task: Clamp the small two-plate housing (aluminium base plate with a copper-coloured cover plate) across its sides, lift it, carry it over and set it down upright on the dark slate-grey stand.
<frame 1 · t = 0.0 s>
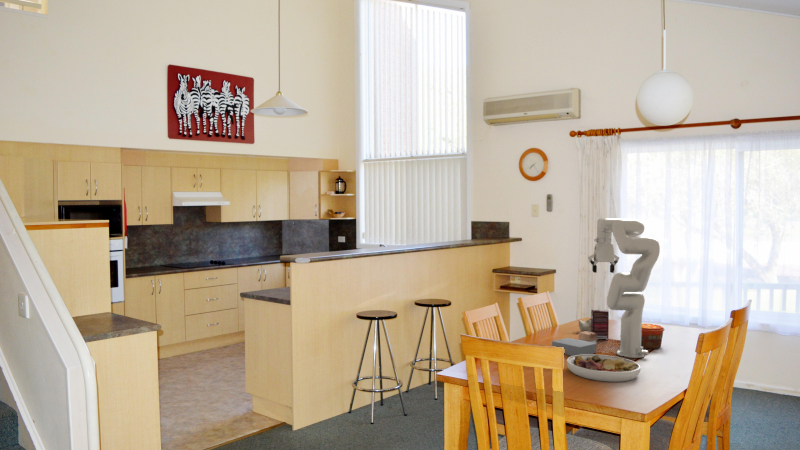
hand: (603, 272, 316), 37 cm above the table, fingers open, 9 cm apart
housing: (587, 346, 303), on the table
supplement box: (599, 339, 321), on the table
ceramic sculpture: (591, 333, 337), on the table
food container: (647, 346, 305), on the table
stand: (573, 352, 288), on the table
bowl: (602, 374, 251), on the table
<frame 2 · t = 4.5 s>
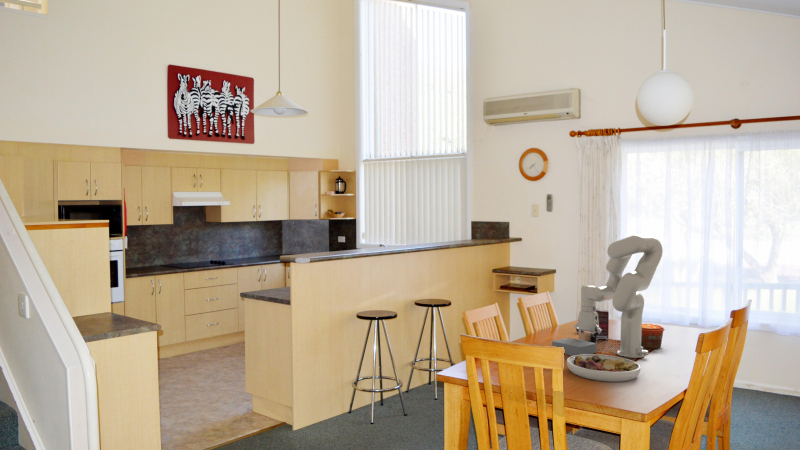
hand: (587, 342, 303), 2 cm above the table, fingers closed on housing, 6 cm apart
housing: (587, 346, 303), on the table, touching gripper
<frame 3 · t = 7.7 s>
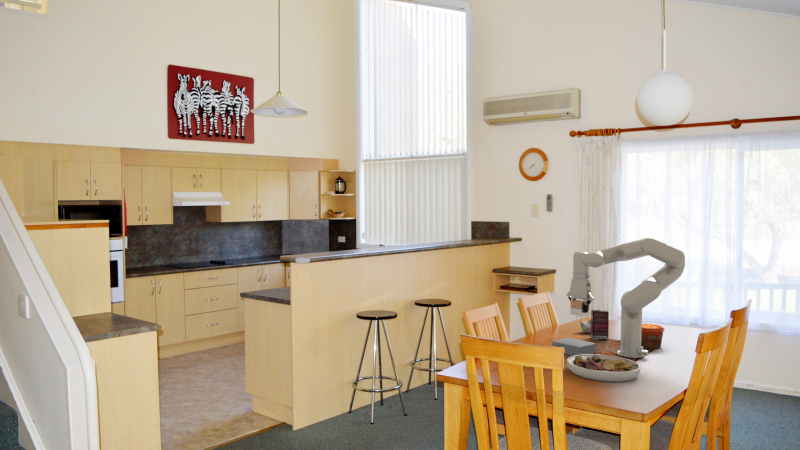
hand: (579, 311, 294), 20 cm above the table, fingers closed on housing, 6 cm apart
housing: (579, 314, 294), point 18 cm above the table, touching gripper
when the fingers open (8 cm above the table, at t = 11.4 s): housing drops 1 cm, resting on stand.
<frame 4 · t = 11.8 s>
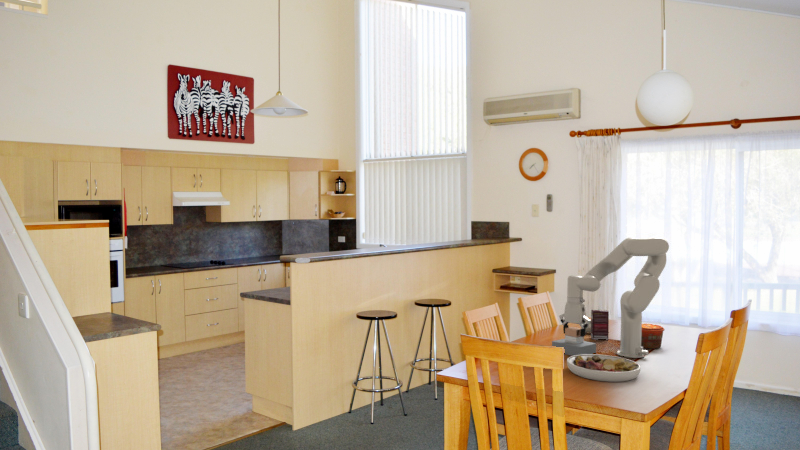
hand: (574, 334, 288), 9 cm above the table, fingers open, 9 cm apart
housing: (574, 342, 288), point 5 cm above the table, touching stand
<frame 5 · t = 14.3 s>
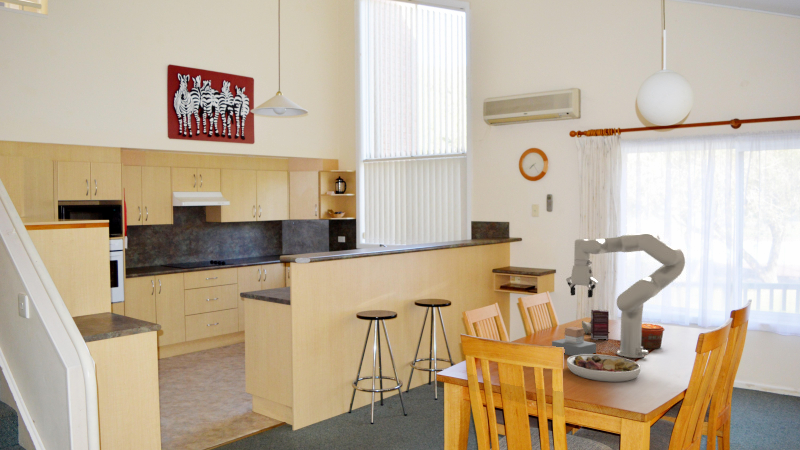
hand: (581, 296, 299), 27 cm above the table, fingers open, 9 cm apart
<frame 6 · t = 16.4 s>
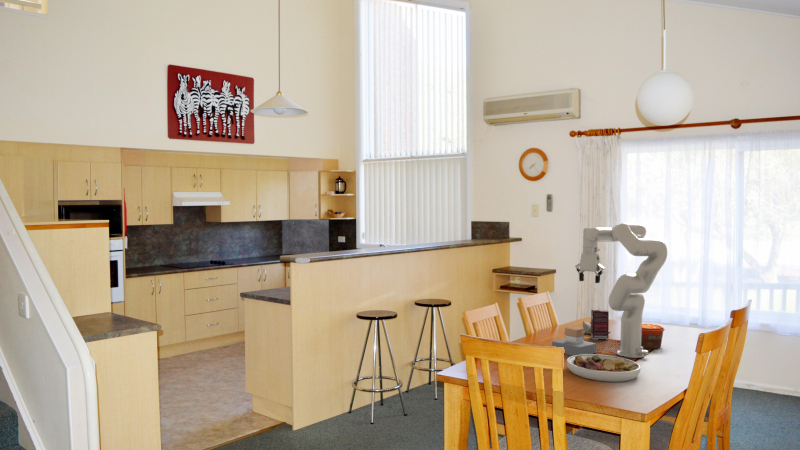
hand: (589, 282, 313), 32 cm above the table, fingers open, 9 cm apart
at the end: housing inside the target area on the stand (0.1 cm from its centre), point 5.0 cm above the stand's base; housing tilted 0°; the gripper is holding nothing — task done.
